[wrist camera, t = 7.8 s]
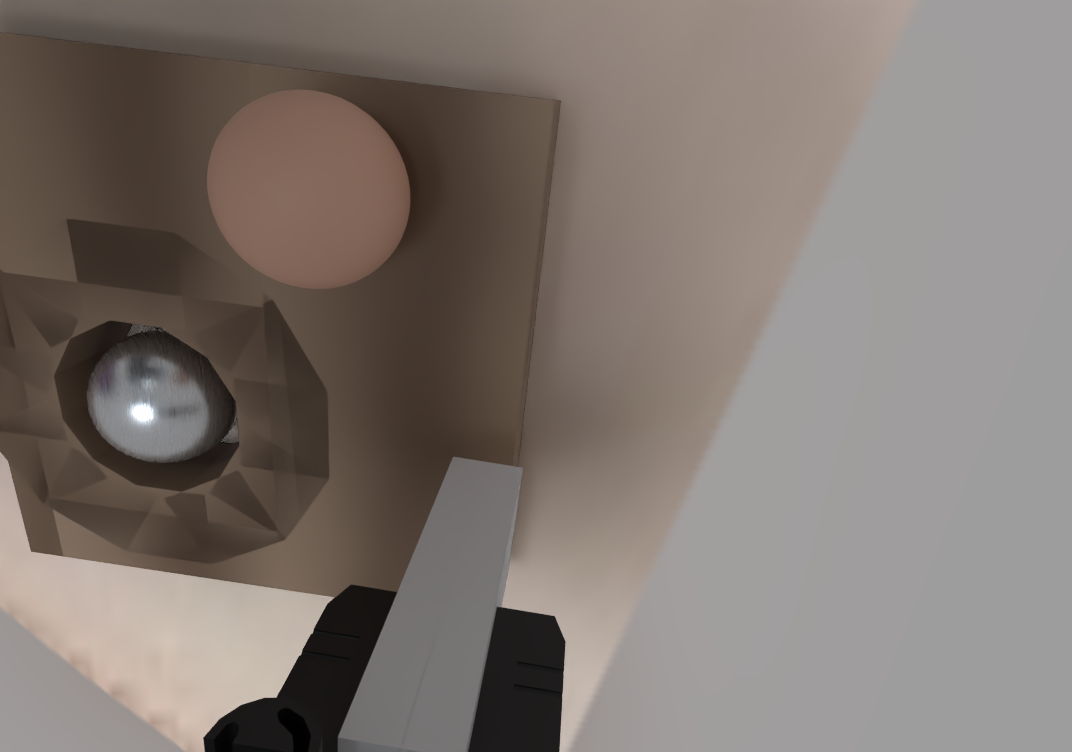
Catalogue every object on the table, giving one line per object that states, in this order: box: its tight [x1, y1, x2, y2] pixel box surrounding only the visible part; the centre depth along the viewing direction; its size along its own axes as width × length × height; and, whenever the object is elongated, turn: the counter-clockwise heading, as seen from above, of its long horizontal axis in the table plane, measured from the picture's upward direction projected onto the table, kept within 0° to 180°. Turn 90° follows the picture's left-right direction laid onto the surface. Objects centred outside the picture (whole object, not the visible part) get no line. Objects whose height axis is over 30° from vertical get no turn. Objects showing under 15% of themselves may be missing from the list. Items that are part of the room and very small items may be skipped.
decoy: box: [207, 89, 410, 289], centre depth 11 cm, size 3×3×3 cm
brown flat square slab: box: [0, 32, 561, 597], centre depth 16 cm, size 14×13×2 cm
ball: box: [87, 329, 237, 463], centre depth 16 cm, size 3×3×3 cm
